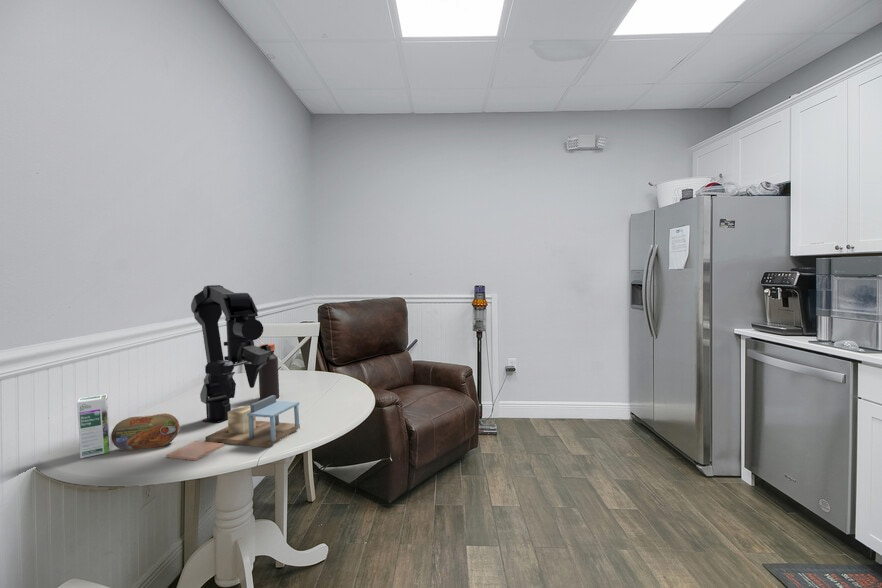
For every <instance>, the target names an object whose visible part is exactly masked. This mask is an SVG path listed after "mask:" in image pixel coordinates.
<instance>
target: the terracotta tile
mask: <svg viewBox="0 0 882 588" xmlns="http://www.w3.org/2000/svg"><path fill="white" fill-rule="evenodd" d="M224 446H225V443H218V442H208V441H201V440H194V442H191V443H189V444H186V445H184V446H182V447H180V448H178V449H176V450H174V451H172V452H169V453H167V454H166V455H165V457H166V458H168V457H170V459H177V458H178V460H185V459H187V460H186V461H194V460H195V461H197V460H199V459H201V458H203V457H205V456H207V455H209V454H211V453H213V452H214V450H215V451H217V450H219V449H221V448H222V447H224ZM220 447H221V448H220ZM218 448H219V449H218ZM216 449H217V450H216ZM212 451H213V452H212ZM210 452H211V453H210Z"/></svg>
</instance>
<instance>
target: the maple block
mask: <svg viewBox="0 0 882 588" xmlns="http://www.w3.org/2000/svg"><path fill="white" fill-rule="evenodd" d="M249 412H251V409H250V406H242V405H241V406H238V407H236V408H233V409H231V411H228V419H227V424H228V425H227V427H228V431H229V433H235V434H245V433H247V432H249V421H248V416H247V413H249ZM256 417H257V416H253V422H254V429H255V428H256V421H257V419H256Z"/></svg>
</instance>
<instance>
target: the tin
mask: <svg viewBox="0 0 882 588" xmlns="http://www.w3.org/2000/svg"><path fill="white" fill-rule="evenodd" d="M179 431H180V423H179V420H178V418H177V417H176V416H174V415H173V414H170V413H155V414H147V415H137V416H131V417H128V418H125V419H123V420H120V421H119V422H118V423H117V424H115V426H114V427H113V429H112V431H111V436H110V437H111V438H110V439H111V442H112V444H113V445H114V446H115V447H116V448H118V449H119V450H121V451H125V452H126V451H129V452H130V451H136V450H144V449H151V448H159V447H165V446H166V445H169V444H170V443H172V441H174V439H175V438H177V437H178V435H179Z"/></svg>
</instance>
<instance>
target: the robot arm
mask: <svg viewBox="0 0 882 588" xmlns="http://www.w3.org/2000/svg"><path fill="white" fill-rule="evenodd" d="M190 309H191V313H193V316H194V319H195V321H197V323H198V324H199V325H200V326H201V329H202V337H203V344H204V350H205V356H206V365H205V366H204V368H205V370H204V371H205V376H204V379H203V385H202V388H201V390H200V393H199V399H200V402H201V403H203V404H204V405H205V409H206V413H205V414H206V417H205V418H203V419H202V422H207V423H209V422H210V423H221V422H223V421H226V420H228V411H231V410H232V407H231V405H232V404H231V402H230V401H231V400H230V399H234V398H235V395H236V388H237V387H236V385H237V384H236V382H235V379H234V377H233V376H234V375H235V374H236V372H235V371H234V369H235V367H238V366H241V365H244V366H243V367H244V370H245V375H246V379H247V382H248V386H249V388H250V389H254V388H255V385H256V382H257V378H258V376H259V370H260V368H261V367H262V366H263V365H265V364H266V361H269V356H271V347H270V345H268V344H269V343H264V344H265V345H263V344H261V345H262V346H261V347H260V345H258V346H256V345H255V341H256V340H258V339H259V338H261V337H262V335H263V333H264V325H263V323H262V322H261V321H260V320H259V319H256V317H258V316H259V315H258V308H257V306H256V304H255V302H254V299H253V297H251V295H250V294H249V293H248V292H234V291H232V290H230V289H227V288H225V287H224V286H223V285H221V284H217V285H215V284H212V285H210V284H209V285H205V286H204V287H203V288H202V290H201V291H200V292H198V293H197V294H195V295H193V298H192V301H191V304H190ZM222 314H223V315H224V316H225V318H224V321H225V323H226V324H225V325H226V341H223V346H225V347H227V355H225V356H224V353H223V347H222V340H221V333H220V328H219V321H220V319H221V316H222Z"/></svg>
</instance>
